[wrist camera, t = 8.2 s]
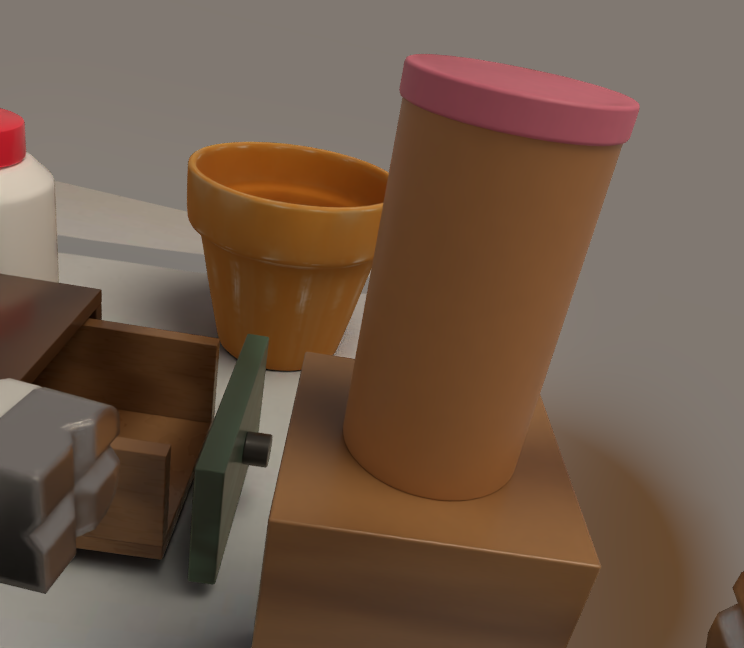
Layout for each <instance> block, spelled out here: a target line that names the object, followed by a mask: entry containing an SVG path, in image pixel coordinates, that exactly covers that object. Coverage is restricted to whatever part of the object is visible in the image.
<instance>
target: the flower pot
mask: <svg viewBox="0 0 744 648" xmlns="http://www.w3.org/2000/svg"><path fill="white" fill-rule="evenodd" d="M388 175H389V173H388V172H387V171H385V170H383V169H381V168H379V167H377V166H375V165H373V164H370V163H368V162H365V161H362V160H360V159H357V158H354V157H350V156H347V155H343V154H339V153H335V152H331V151H327V150H322V149H317V148H312V147H305V146H298V145H291V144H282V143H269V142H233V143H223V144H216V145H211V146H207V147H204V148H202V149H200V150H198V151H196V152H194V153H193V154H192V155H191V156H190V158H189V161H188V176H187V209H188V210H187V211H188V218H189V221H190V223H191V225H192V226H193V228H194V229H195V230H196V231H197V232H198V233H199V234H200V235H201V237H202V243H203V249H204V255H205V262H206V268H207V275H208V281H209V287H210V293H211V299H212V304H213V310H214V316H215V321H216V327H217V332H218V337H219V339H220V342H221V344H222V346H223V347H224V348H225V349H226V350H227V351H228V352H229V353H230V354H231V355H233V356H234V357H235V358H237V359H238V357H239V354H240V352H241V349H242V347H243V344H244V342H245V339H246V336H247V334H254V335H260V336H266V337H269V345H268V353H267V362H266V369H271V370H281V371H294V370H301V369H302V365H303V360H304V356H305V353H306V352H313V353H319V354H326V355H333V354H334V353H335V352H336V349H337V347H338V345H339V343H340V341H341V339H342V336H343V334H344V332H345V330H346V327H347V325H348V323H349V321H350V318H351V316H352V314H353V311H354V309H355V306H356V304H357V302H358V299H359V297H360V294H361V292H362V289H363V287H364V285H365V282H366V280H367V277H368V275H369V273H370V270H371V268H372V263H373V258H374V252H375V247H376V241H377V236H378V230H379V225H380V219H381V214H382V208H383V203H384V197H385V192H386V186H387V181H388Z"/></svg>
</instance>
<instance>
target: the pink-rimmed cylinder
mask: <svg viewBox="0 0 744 648" xmlns="http://www.w3.org/2000/svg"><path fill="white" fill-rule="evenodd" d="M400 94H401V96H402V97H403V98H402V104H401V110H400V115H399V120H398V126H397V131H396V137H395V142H394V148H393V153H392V159H391V164H390V170H389V175H388V181H387V186H386V192H385V197H384V203H383V208H382V214H381V219H380V225H379V230H378V236H377V241H376V247H375V252H374V258H373V263H372V269H371V274H370V280H369V285H368V291H367V296H366V302H365V307H364V313H363V318H362V324H361V329H360V335H359V340H358V346H357V351H356V357H355V363H354V368H353V374H352V379H351V385H350V390H349V396H348V401H347V407H346V412H345V418H344V423H343V435H344V440H345V443H346V445H347V447H348V450H349V451H350V453H351V454H352V456H353V457H354V458H355V460H356V461H357V462H358V463H359V464H360V465H361V466H362V467H363V468H364V469H365V470H366V471H368V472H369V473H370V474H372V475H373V476H374V477H376V478H377V479H379V480H381V481H382V482H384V483H386V484H388V485H390V486H392V487H394V488H396V489H398V490H401V491H404V492H406V493H409V494H413V495H416V496H420V497H424V498H429V499H435V500H444V501H462V500H471V499H476V498H481V497H484V496H487V495H490V494H492V493H494V492H495V491H497V490H499V489H500V488H501V487H503V486H504V485H505V484H506V483H507V482H508V481H509V480H510V478H511V477H512V475H513V473H514V470H515V467H516V464H517V461H518V458H519V455H520V452H521V449H522V446H523V443H524V440H525V437H526V434H527V431H528V428H529V425H530V422H531V419H532V416H533V413H534V410H535V407H536V404H537V401H538V398H539V395H540V392H541V388H542V386H543V383H544V380H545V377H546V374H547V371H548V367H549V365H550V362H551V359H552V356H553V353H554V349H555V347H556V344H557V340H558V337H559V335H560V331H561V329H562V326H563V323H564V319H565V317H566V314H567V311H568V308H569V305H570V301H571V298H572V295H573V292H574V289H575V286H576V283H577V280H578V277H579V274H580V271H581V268H582V265H583V262H584V259H585V256H586V253H587V250H588V247H589V244H590V241H591V238H592V235H593V232H594V229H595V226H596V223H597V220H598V217H599V214H600V211H601V208H602V205H603V202H604V199H605V196H606V193H607V190H608V187H609V184H610V181H611V178H612V175H613V172H614V169H615V166H616V163H617V160H618V157H619V154H620V151H621V147H622V145H623V143H625V142H626V141H628V140H629V138H630V136H631V133H632V130H633V127H634V124H635V121H636V118H637V115H638V112H639V104H638V102H636V101H635V100H634V99H632V98H630V97H628V96H626V95H623V94H621V93H618V92H616V91H612V90H609V89H607V88H603V87H600V86H597V85H593V84H590V83H586V82H583V81H579V80H575V79H571V78H567V77H563V76H559V75H554V74H550V73H546V72H541V71H536V70H532V69H527V68H522V67H517V66H512V65H507V64H501V63H496V62H490V61H484V60H477V59H471V58H463V57H456V56H447V55H434V54H416V55H410V56H408V57H407V58H406V59H405V62H404V68H403V73H402V79H401V84H400Z"/></svg>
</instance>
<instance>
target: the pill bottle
mask: <svg viewBox="0 0 744 648" xmlns="http://www.w3.org/2000/svg"><path fill="white" fill-rule="evenodd" d="M0 274H6V275H13V276H19V277H25V278H31V279H38V280H44V281H50V282H57V283H59V270H58V248H57V223H56V199H55V180H54V177H53V176H52V174H51V173H50V171H49V170H48V169H47V168H46V167H44V166H43V165H42V164H41V163H40V162H39V161H37V160H36V159H35V158H34V157H33V156H31V155H30V154H29V153H28V152H26V140H25V122H24V120H23V118H22V117H20V116H19V115H17V114H15V113H13V112H11V111H8V110H5V109H1V108H0Z"/></svg>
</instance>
